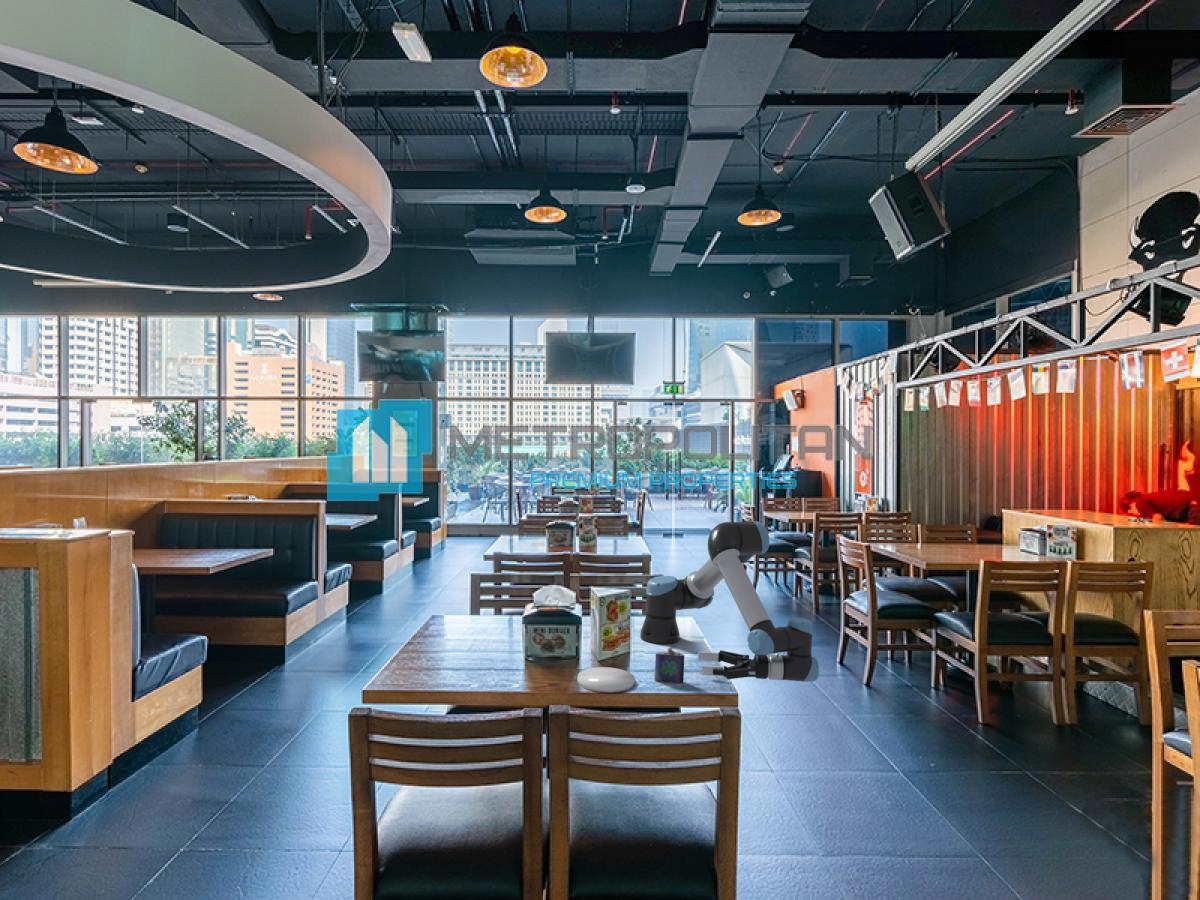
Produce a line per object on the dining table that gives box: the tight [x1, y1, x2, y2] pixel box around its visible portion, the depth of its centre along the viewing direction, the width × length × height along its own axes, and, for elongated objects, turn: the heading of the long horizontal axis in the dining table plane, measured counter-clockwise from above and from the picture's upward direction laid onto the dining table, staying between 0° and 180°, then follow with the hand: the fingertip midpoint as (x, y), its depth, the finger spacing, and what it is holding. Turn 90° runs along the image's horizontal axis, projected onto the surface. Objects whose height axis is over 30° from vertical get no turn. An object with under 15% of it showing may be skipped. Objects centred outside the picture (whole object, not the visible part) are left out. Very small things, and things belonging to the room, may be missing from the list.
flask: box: [654, 647, 685, 684], centre depth 221 cm, size 9×3×11 cm, turn 83°
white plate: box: [577, 666, 635, 693], centre depth 219 cm, size 18×18×2 cm
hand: (699, 662), depth 220 cm, fingers open, 13 cm apart
